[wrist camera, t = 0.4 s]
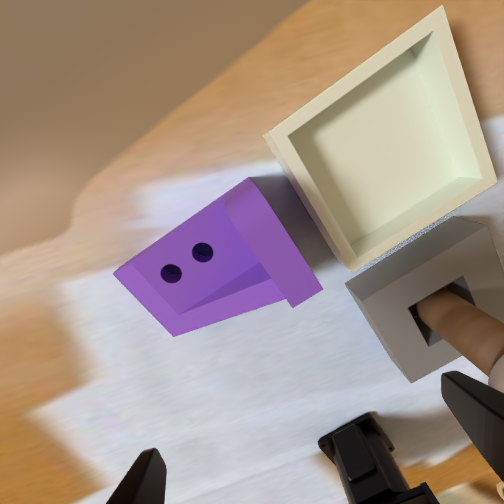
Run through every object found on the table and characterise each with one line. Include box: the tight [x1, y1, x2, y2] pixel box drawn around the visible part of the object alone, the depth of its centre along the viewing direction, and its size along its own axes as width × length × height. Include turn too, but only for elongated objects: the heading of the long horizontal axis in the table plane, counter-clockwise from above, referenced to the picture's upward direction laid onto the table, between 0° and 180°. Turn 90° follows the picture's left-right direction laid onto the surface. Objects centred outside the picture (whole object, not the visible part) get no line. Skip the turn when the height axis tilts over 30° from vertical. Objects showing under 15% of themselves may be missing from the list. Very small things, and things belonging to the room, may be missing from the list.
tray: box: [263, 5, 498, 273], centre depth 18 cm, size 11×11×3 cm
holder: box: [345, 217, 504, 383], centre depth 22 cm, size 10×10×3 cm
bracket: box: [113, 177, 323, 337], centre depth 18 cm, size 12×7×7 cm, turn 123°
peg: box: [408, 287, 504, 393], centre depth 19 cm, size 4×4×10 cm
